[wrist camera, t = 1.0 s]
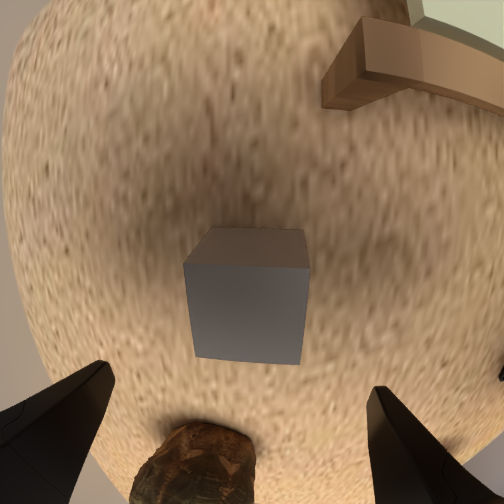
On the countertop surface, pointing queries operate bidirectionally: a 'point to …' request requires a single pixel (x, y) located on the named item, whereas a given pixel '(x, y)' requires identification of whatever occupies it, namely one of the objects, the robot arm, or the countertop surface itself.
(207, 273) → the gray cube
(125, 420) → the countertop surface
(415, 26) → the trapdoor
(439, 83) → the frame
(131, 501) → the shell
